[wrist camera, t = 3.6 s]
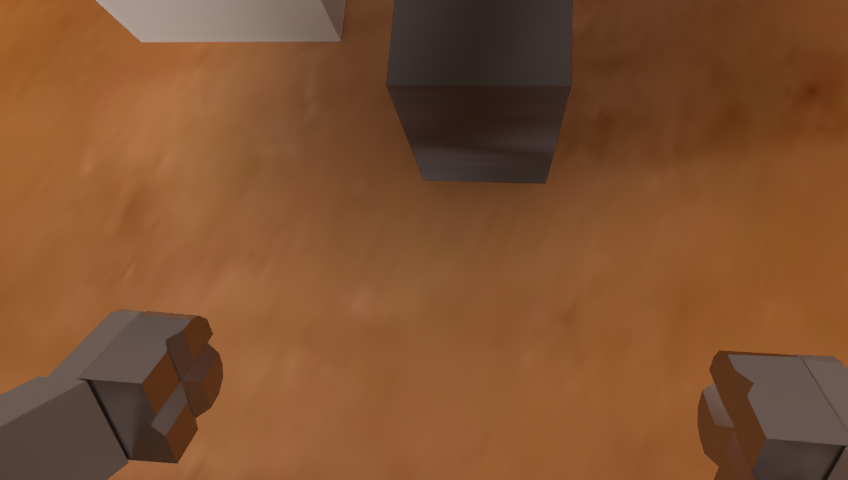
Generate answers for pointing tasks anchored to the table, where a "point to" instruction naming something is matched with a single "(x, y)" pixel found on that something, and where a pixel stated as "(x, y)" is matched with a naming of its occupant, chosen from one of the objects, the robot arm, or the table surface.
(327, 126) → the table surface
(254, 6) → the tower base
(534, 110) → the charcoal block
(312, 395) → the table surface
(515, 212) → the table surface
